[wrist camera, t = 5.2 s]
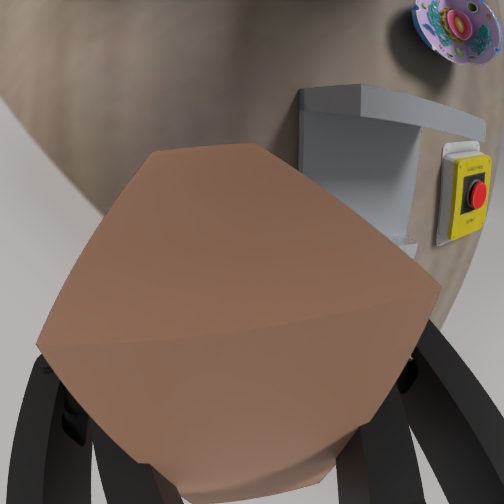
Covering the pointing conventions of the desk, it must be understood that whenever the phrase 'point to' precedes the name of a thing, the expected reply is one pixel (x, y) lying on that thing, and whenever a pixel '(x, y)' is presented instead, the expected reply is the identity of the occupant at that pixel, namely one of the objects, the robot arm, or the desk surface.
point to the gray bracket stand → (371, 146)
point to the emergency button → (462, 190)
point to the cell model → (458, 29)
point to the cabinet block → (234, 322)
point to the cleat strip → (405, 244)
